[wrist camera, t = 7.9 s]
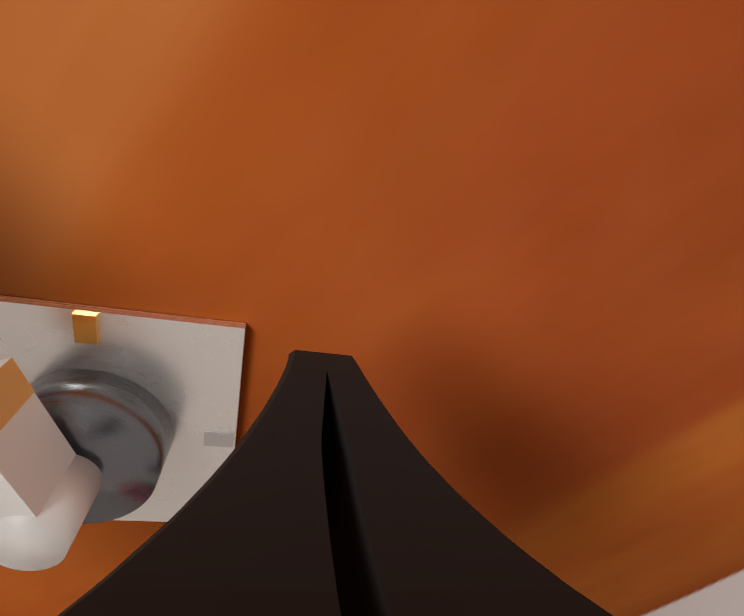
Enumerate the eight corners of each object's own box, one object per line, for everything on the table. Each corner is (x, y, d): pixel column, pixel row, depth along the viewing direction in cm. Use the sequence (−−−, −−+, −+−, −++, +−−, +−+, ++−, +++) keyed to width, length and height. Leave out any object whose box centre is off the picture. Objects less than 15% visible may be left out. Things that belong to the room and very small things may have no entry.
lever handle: (114, 491, 20) (80, 561, 17) (51, 504, 20) (6, 577, 17) (25, 354, 16) (-36, 413, 13) (-53, 370, 16) (-131, 433, 13)
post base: (-26, 507, 23) (-69, 562, 21) (-88, 285, 18) (-156, 321, 15) (229, 515, 26) (220, 565, 23) (246, 323, 20) (236, 359, 18)
